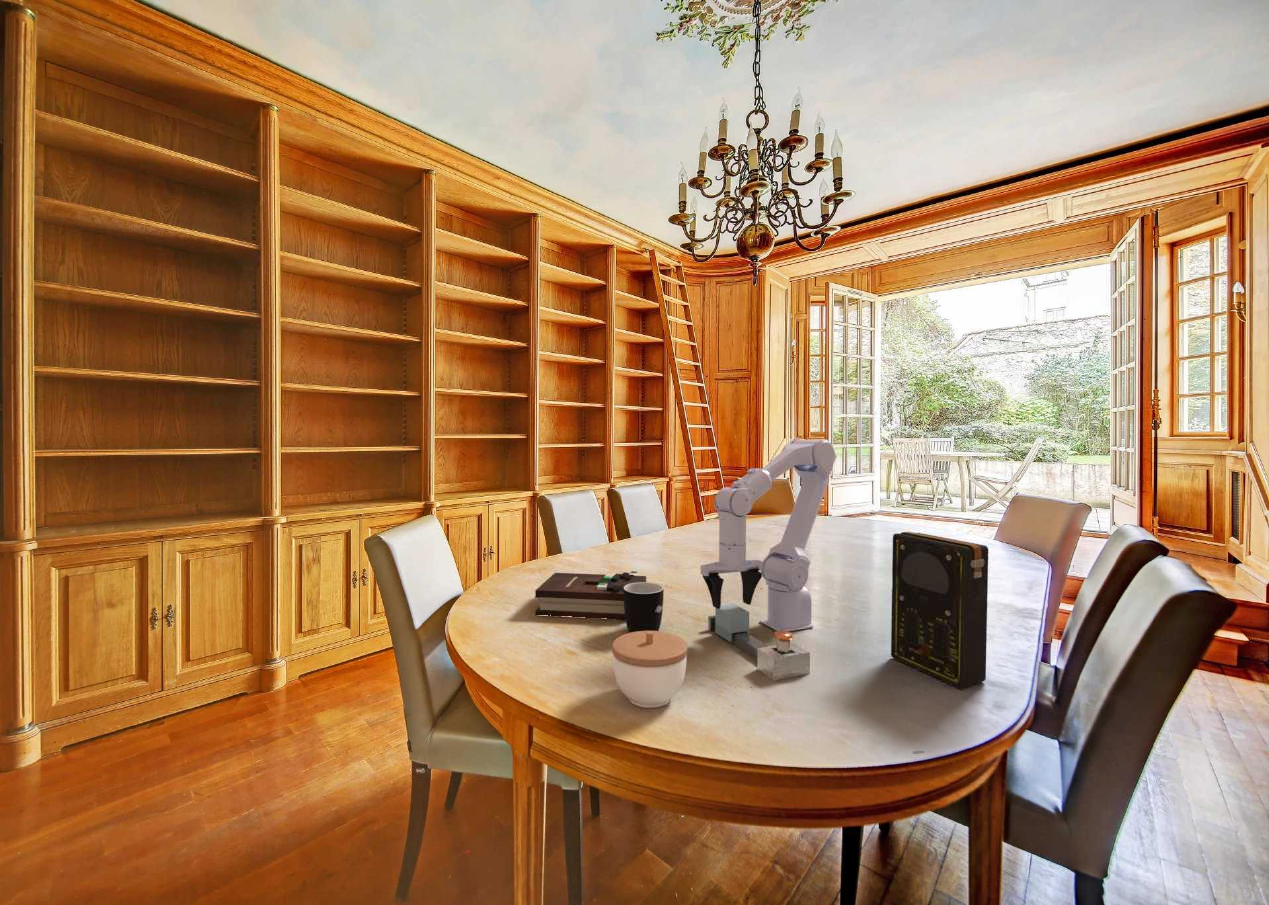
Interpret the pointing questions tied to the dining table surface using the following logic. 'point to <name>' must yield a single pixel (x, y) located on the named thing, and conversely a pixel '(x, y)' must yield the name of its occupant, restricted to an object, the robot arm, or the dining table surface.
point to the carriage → (731, 621)
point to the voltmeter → (940, 607)
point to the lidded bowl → (649, 666)
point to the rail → (741, 639)
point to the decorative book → (584, 595)
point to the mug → (643, 606)
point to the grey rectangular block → (783, 662)
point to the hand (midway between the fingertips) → (731, 605)
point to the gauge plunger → (783, 641)
